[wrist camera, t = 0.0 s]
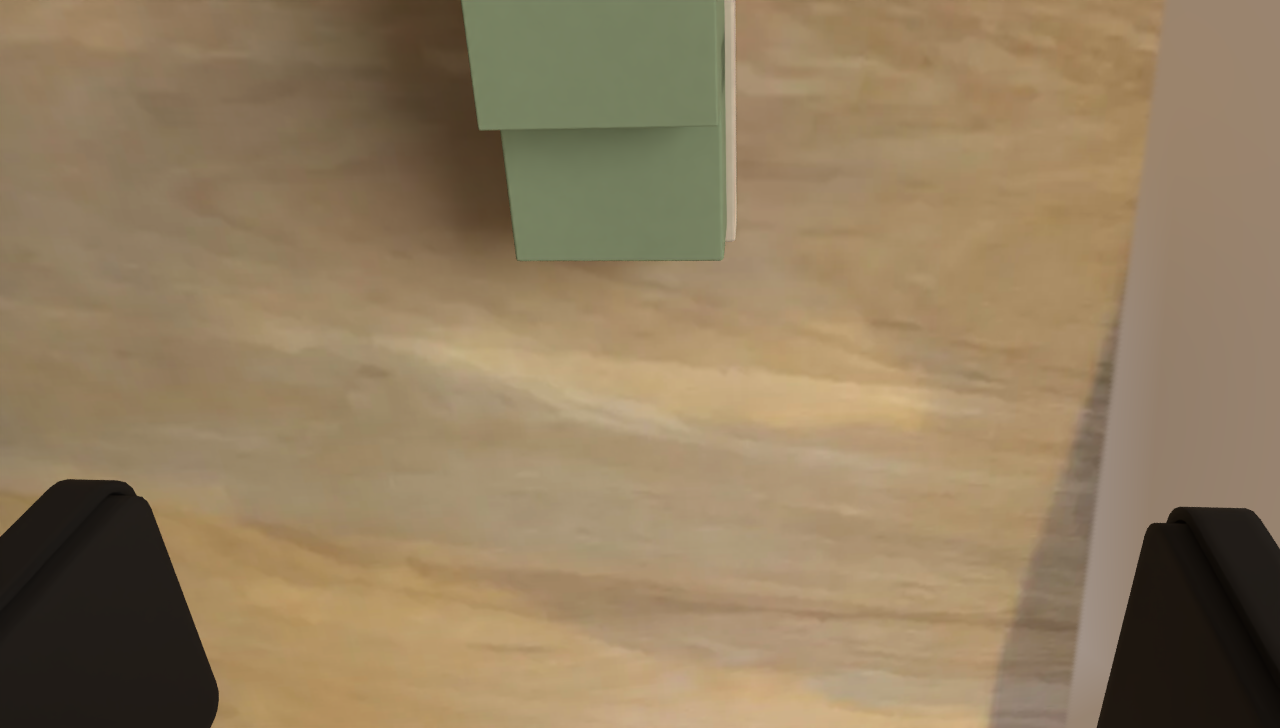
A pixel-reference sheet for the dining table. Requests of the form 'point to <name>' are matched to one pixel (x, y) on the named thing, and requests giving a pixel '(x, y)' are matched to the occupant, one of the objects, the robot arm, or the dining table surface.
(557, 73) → the green block on base
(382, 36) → the dining table surface
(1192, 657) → the robot arm
